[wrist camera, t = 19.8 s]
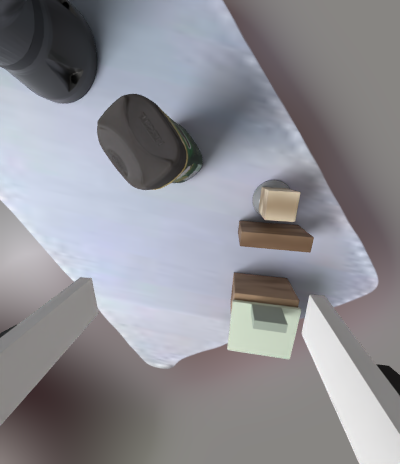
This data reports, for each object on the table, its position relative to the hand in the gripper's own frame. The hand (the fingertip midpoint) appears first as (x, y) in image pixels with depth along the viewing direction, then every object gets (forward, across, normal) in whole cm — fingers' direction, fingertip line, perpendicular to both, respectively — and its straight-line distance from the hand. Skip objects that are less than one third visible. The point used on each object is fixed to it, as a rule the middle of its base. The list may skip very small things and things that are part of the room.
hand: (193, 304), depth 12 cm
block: (+28, +10, +2) cm, 30 cm away
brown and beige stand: (+28, +10, -12) cm, 32 cm away
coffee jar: (+29, -8, +10) cm, 32 cm away
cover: (+20, +9, -20) cm, 30 cm away
